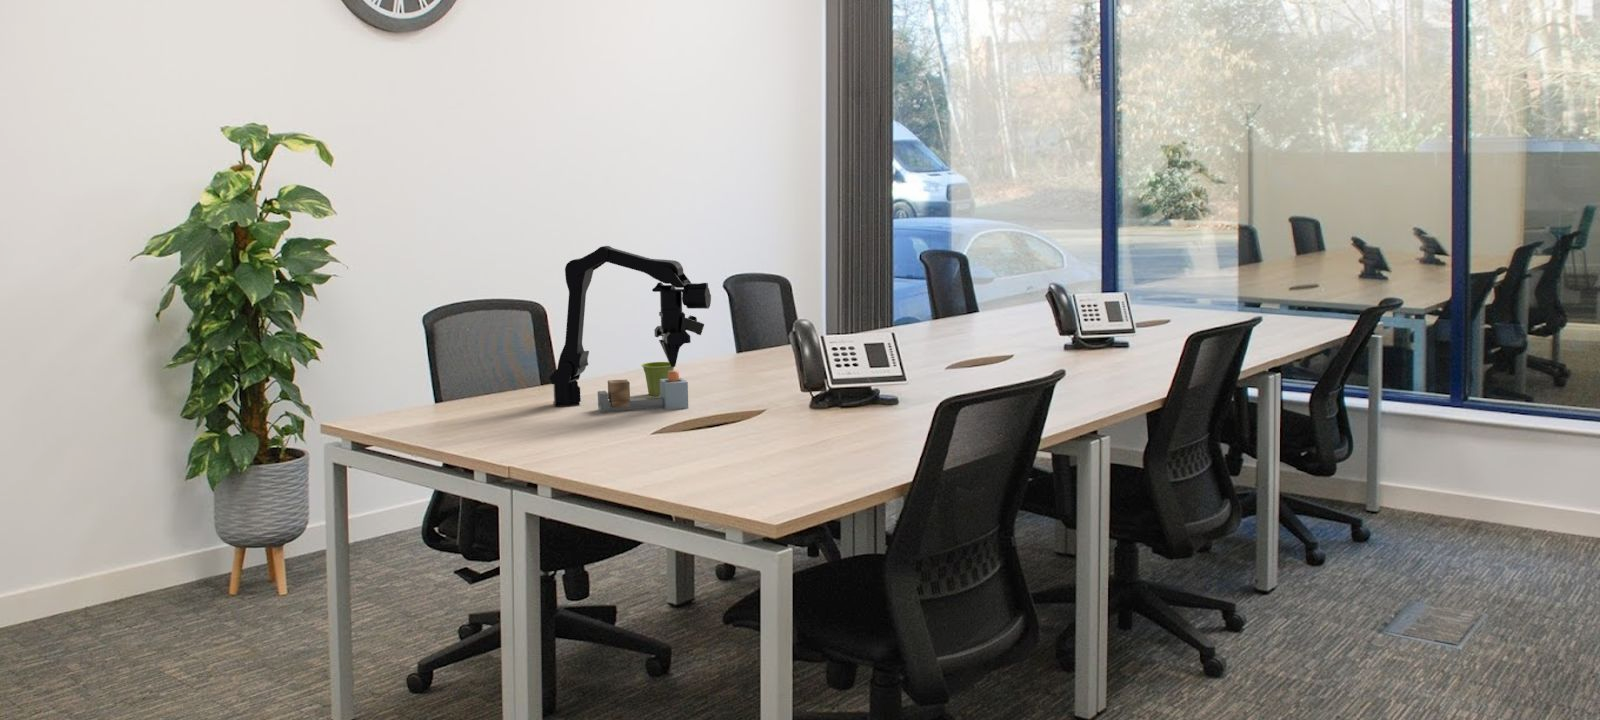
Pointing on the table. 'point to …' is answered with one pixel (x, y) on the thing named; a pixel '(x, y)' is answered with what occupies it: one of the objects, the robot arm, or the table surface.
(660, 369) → the plant pot
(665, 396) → the blue grey open box
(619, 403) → the block
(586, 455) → the table surface
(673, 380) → the brown egg
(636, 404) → the rail
